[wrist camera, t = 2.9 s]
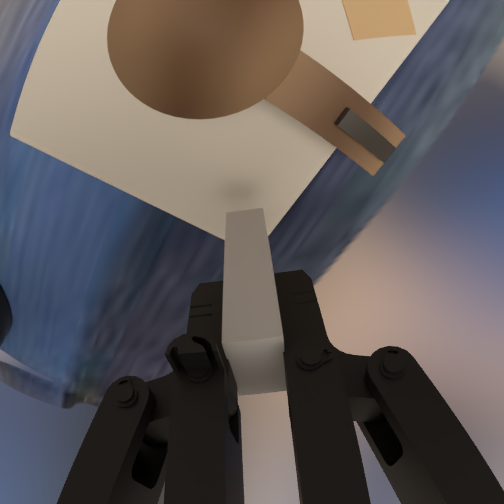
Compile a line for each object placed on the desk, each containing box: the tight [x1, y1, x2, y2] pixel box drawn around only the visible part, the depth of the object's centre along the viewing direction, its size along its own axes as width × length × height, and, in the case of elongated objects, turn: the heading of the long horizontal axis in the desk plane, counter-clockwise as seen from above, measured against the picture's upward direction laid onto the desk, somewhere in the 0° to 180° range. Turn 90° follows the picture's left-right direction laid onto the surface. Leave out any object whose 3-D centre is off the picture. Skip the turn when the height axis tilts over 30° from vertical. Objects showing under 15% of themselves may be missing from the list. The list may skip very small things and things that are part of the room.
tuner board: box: [10, 0, 450, 240], centre depth 13 cm, size 18×22×1 cm
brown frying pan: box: [107, 0, 405, 176], centre depth 12 cm, size 13×7×5 cm, turn 57°
